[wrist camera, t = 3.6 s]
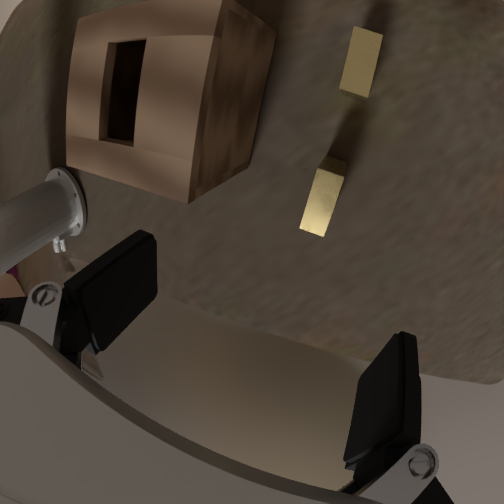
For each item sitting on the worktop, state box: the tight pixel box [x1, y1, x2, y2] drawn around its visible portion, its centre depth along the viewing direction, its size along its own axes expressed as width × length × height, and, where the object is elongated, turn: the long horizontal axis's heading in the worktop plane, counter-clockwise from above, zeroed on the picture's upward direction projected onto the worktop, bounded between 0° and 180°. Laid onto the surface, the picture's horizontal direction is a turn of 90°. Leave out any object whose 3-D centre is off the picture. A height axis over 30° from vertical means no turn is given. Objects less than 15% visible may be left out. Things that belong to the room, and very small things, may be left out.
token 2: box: [339, 26, 383, 101], centre depth 17 cm, size 5×2×6 cm, turn 169°
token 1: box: [300, 155, 347, 237], centre depth 23 cm, size 5×2×6 cm, turn 169°
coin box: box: [66, 0, 277, 204], centre depth 20 cm, size 14×14×11 cm
